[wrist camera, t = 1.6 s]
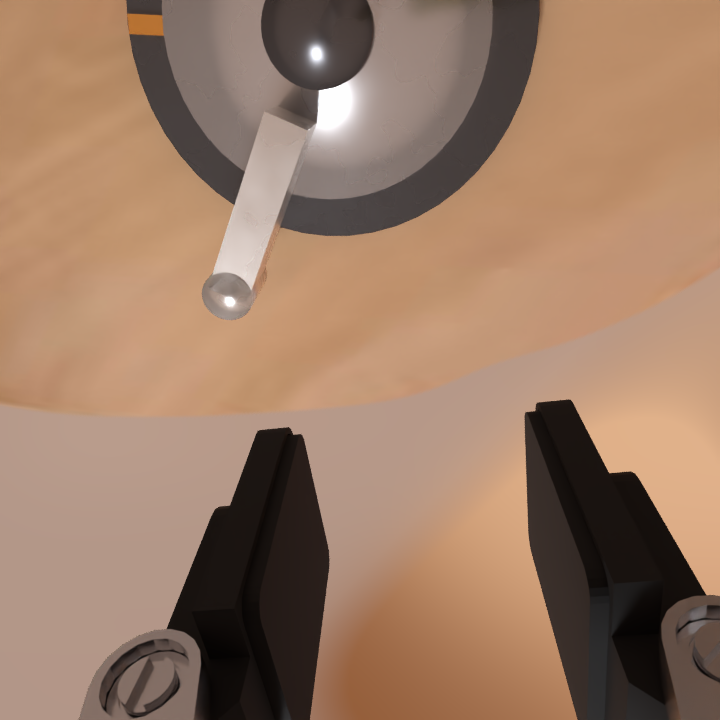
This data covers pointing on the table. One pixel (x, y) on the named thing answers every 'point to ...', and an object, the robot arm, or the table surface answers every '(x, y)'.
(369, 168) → the dial
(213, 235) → the table surface
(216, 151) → the stand
